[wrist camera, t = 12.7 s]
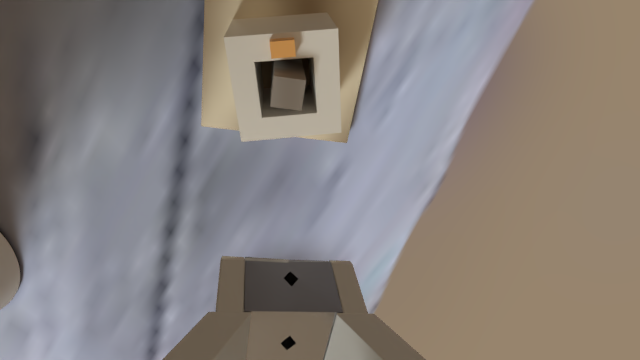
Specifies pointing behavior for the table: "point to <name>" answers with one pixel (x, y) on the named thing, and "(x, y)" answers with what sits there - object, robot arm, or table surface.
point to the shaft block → (284, 75)
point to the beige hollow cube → (281, 44)
